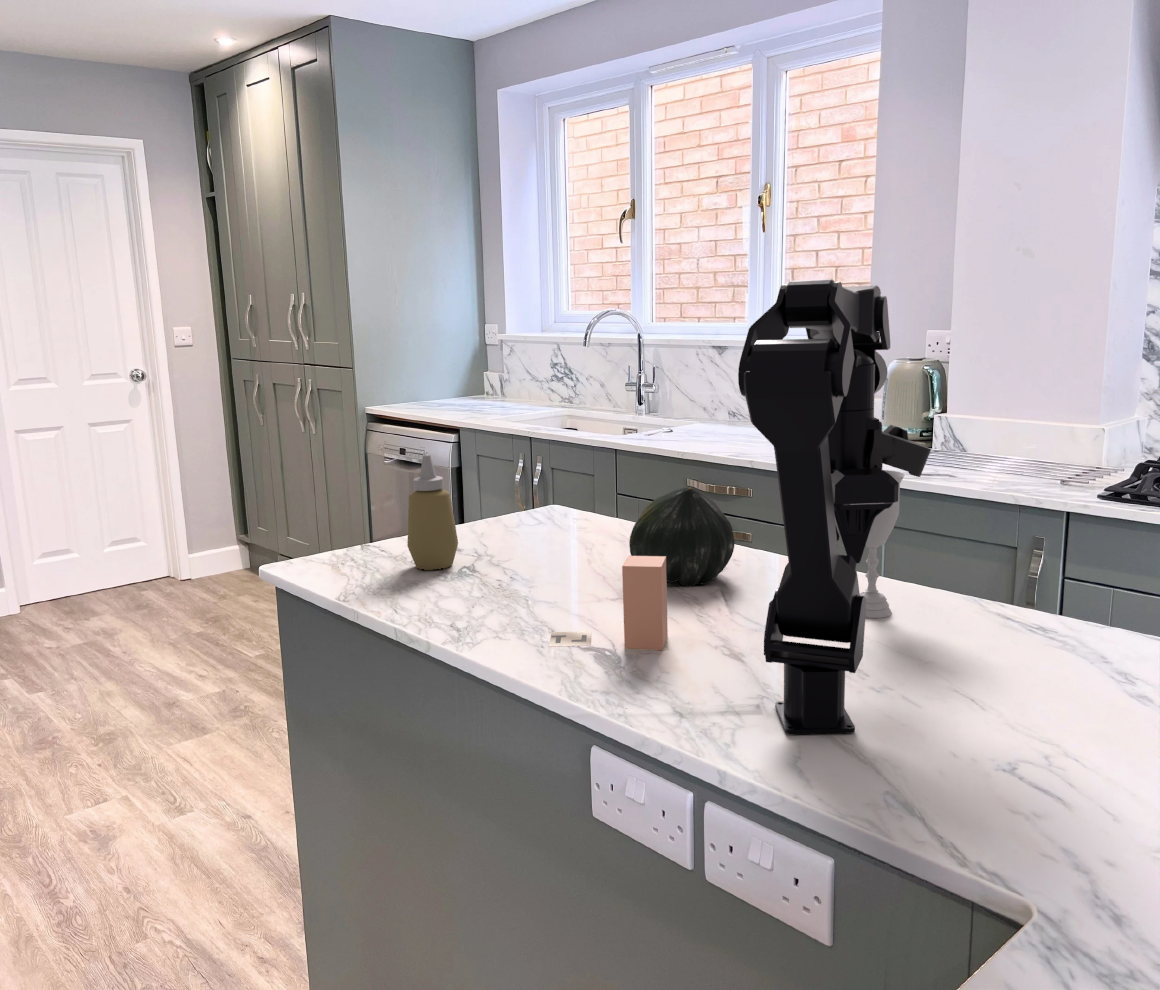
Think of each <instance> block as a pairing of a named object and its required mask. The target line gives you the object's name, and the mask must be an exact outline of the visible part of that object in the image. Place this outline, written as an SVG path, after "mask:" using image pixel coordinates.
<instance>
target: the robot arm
mask: <svg viewBox="0 0 1160 990" xmlns="http://www.w3.org/2000/svg"><path fill="white" fill-rule="evenodd" d="M881 295H882V291H881V289H880V287H879V286H878V285H860V286H859V285H857V286H853V285H851V286H843V284H842V282H841V281H835V280H833V279H832V278H831V279H830V278H828V279H827V278H826V279H806V280H805V279H804V280H789V282H788V283H783V284H781V285H780V287H779V290H778V294H777V299H776V300H775V301H776V302H775V303H774V304H773V305H772V306H771V307H770V308H769V309H768V310H767V311H765V312H764V313H763V314H762V315H761V316H760V317H759V318H758V319H757V320H756V321H754V322H753V323H752V324H751V325H750V326H749V328H748V330H747V335H746V337H745V341H744V345H743V348H742V352H741V355H740V359H739V364H738V373H737V378H738V379H737V380H738V381H737V382H738V387H739V388H738V389H739V393H740V395H741V396H743V397H745V401H746V405H747V409H748V415H749V420H750V423H751V424H752V425H753V426H754V428H755V429H756V430H758V431H759V432H760V433H761V434H762V436H763V437H765V439H766V440H767V442H769V443H770V444H771V445H772V446H773V450H774V456H775V458H774V459H775V466H776V473H777V481H778V490H779V496H780V497H779V498H780V505H781V514H782V519H783V529H784V530H783V531H784V536H785V545H786V551H787V552H786V553H787V559H788V562H787V564H786V565H785V567H784V571H783V573H782V576H781V580H780V583H779V585H778V588H776V590H775V591H774V594H773V599H772V600H771V601H769V603H768V609H767V614H766V615H767V616H766V623H765V626H764V627H765V628H764V634H763V636H764V637H763V655H764V656H765V663H778V664H783V700H782V701H776V702H774V703H775V705H774V708H775V710H776V713H777V715H778V717H779V720H780V724H781V725H782V727H783V729H784V732H785V733H786V734H788V735H789V734H790V735H794V734H795V735H799V734H803V735H804V734H805V735H807V734H808V735H809V734H810V735H811V734H845V733H846V734H847V733H849V734H851V733H854V732H855V731H856V726H855V724H854V722H853V720H852V719H851V717H850V715H849V713H848V712H847V710H846V708H845V696H846V695H845V694H846V693H845V692H846V691H845V690H846V688H845V687H846V672H849V673H852V674H856V672H857V670H858V668H859V666H860V664H861V661H862V659H863V657H864V643H865V642H864V641H865V631H866V630H865V628H866V618H867V617H866V599H865V596H860V593H861V592H860V586H859V578H858V571H857V569H858V567H857V566H858V565H857V564H860V563H861V561H862V557H863V554H864V552H865V551H864V550H865V547H866V546H865V545H866V542H867V539H868V536H869V533H870V530H871V527H872V524H873V521H874V519H875V517H876V516H877V515H878V514H880V513H881V512H882V511H883V510H885V509H887V508H890V507H891V506H892V505H893V503H894V502H897V501H898V492H899V483H898V482H897V481H896V480H895V479H894V478H893V477H892V476H891V475H890V474H889V473H887V472H885V471H884V469H883V464H884V465H887V466H890V467H892V468H896V469H898V470H899V469H900V470H902V471H905V472H907V473H908V474H909V475H911V476H914V477H918V478H921V476H922V474H923V471H924V468H925V466H926V464H927V461H928V459H929V456H930V453H931V451H932V449H931V448H929V447H927V446H925V445H923V444H921V443H918V442H915V441H913V440H909V434H908V429H904V428H902V427H899V426H896V425H894V424H890V425H888V426H887V427H886V428H885V429H884V430H883V423H882V421H880V419H879V418H876V417H875V395H876V393H877V392H879V391H880V390H881V389H882V388H883V386H884V385H885V383H886V381H887V377H888V366H887V363H886V360H885V359H884V358H883V357H882V355H881V354H880V353H879V352H877V351H882V350H883V351H888V350H890V349H891V334H890V323H889V322H890V320H889V319H890V318H889V308H888V307H889V305H888V298H887V296H886V295H884V296H883V295H882V296H881ZM793 328H794V329H801V328H804V329H805V330H806V331H805V332H806V337H807V338H802V339H801V338H799V339H797V338H796V339H794V338H793V339H789V338H787V339H784V338H786V336H787V335H788V334H789V332H790V331H789V330H790V329H793ZM839 540H840V542H841V545H842V548H843V551H844V553H845V554H839V550H838V549H839V548H838V542H839ZM784 636H785V637H790V638H800V639H808V640H818V641H827V642H836V643H843V644H844V643H845V644H849V647H840V646H833V645H831V646H830V645H823V644H814V643H813V644H812V643H804V642H796V641H786V640H784Z"/></svg>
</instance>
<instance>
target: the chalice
mask: <svg viewBox="0 0 1160 990" xmlns="http://www.w3.org/2000/svg"><path fill="white" fill-rule="evenodd" d="M883 470H884V469H883ZM884 471H885V472H887V473H889V474H890V475H891V476H892V477H893V478H894V479H895V480H896V481H897V482H898V483H899V492H898V501H897V502H894V503H893V505H892V506H891V507H890V508H887V509H885V510H883V511H882V512H881V513H880V514H878V515H877V516H876V517H875V519H874V521H873V524H872V527H871V530H870V533H869V536H868V539H867V542H866V545H865V547H867V548H868V556H867V559H866V560H865V562H866V564H867V567H868V570H867V573H865V575H864V576H865V577H866V578H867V583H868V585H867V588H866V589H864V590H865V591H863V592H860V596H865V599H866V617H865V618H868V619H879V618H880V619H881V618H888V617H889V616H891V615H892V613H893V612H892V610H891V608H890V604H889V603H888V601H887V598H886V595H884V593H881V592H879V590H878V589H877V581H878V578H879V577H880V574H879V573H878V572H877V567H878V564H879V563H880V560H879V559H878V553H877V551H878V547H881V546H883V545H885V544H886V542H887V540H888V539H889V537H890V534H891V533H892V531H893V529H894V527H895V525H896V523H897V520H898V517H899V516H900V500H901V499H900V493H901V492H900V491H901V489H900V487H901V484H902V483H901V482H902V481H903V479H904V477H905V473H903V472H901V471H894V470H889V469H887V470H886V469H885V470H884Z"/></svg>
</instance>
